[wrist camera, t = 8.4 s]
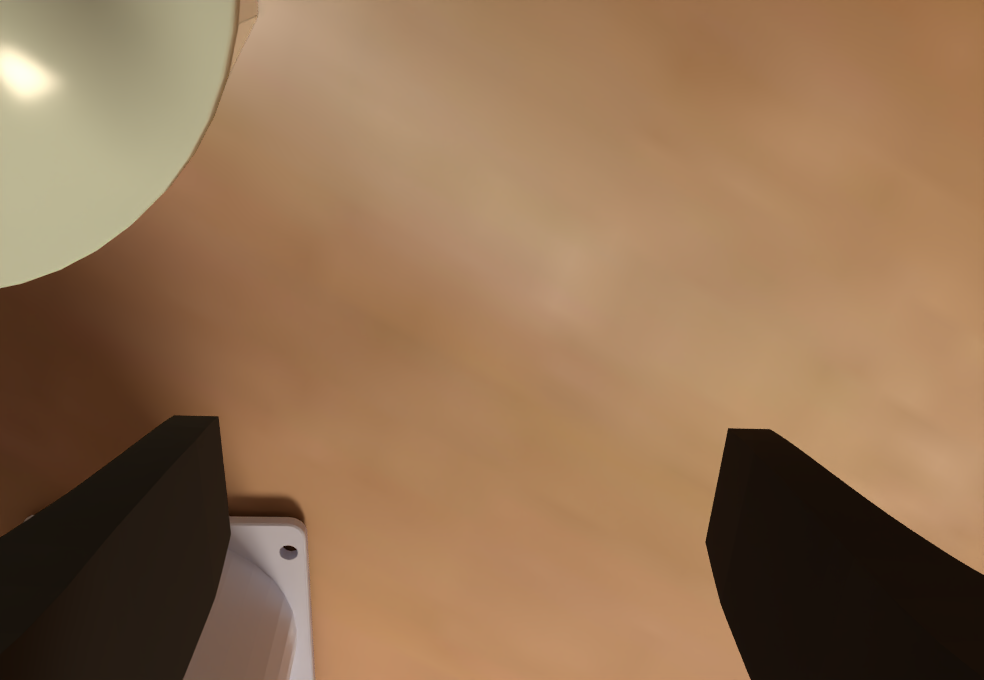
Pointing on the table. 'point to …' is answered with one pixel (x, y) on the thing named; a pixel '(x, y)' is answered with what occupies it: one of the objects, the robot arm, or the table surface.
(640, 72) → the table surface
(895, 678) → the robot arm
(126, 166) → the lid
